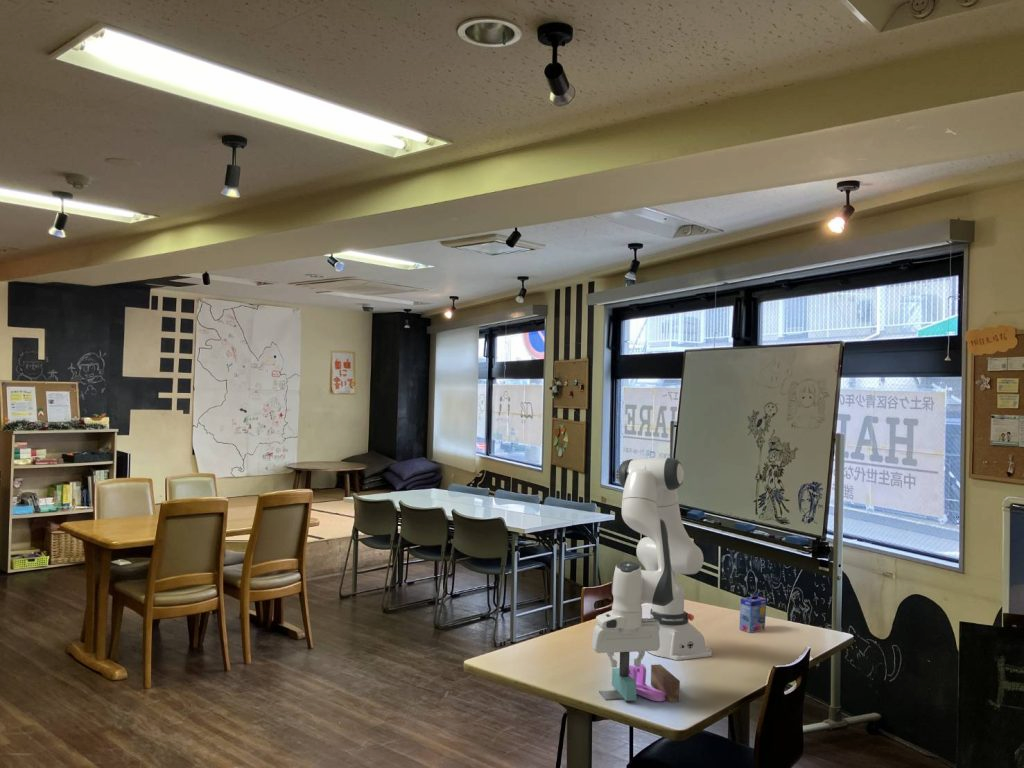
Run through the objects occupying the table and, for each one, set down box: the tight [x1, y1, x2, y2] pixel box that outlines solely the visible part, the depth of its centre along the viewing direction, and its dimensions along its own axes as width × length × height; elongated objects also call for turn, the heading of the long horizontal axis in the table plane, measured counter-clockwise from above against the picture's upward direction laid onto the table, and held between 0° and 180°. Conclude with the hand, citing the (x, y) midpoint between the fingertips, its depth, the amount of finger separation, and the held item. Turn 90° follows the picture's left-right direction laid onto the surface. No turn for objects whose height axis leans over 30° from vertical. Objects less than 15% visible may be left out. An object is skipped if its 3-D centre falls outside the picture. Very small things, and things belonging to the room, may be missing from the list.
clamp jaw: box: [611, 652, 637, 702], centre depth 219 cm, size 3×12×12 cm, turn 12°
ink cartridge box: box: [739, 592, 767, 634], centre depth 290 cm, size 10×6×14 cm, turn 126°
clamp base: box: [598, 664, 681, 704], centre depth 220 cm, size 21×14×6 cm, turn 102°
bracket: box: [629, 663, 666, 702], centre depth 221 cm, size 13×6×7 cm, turn 38°
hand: (625, 666), depth 219 cm, fingers open, 6 cm apart
